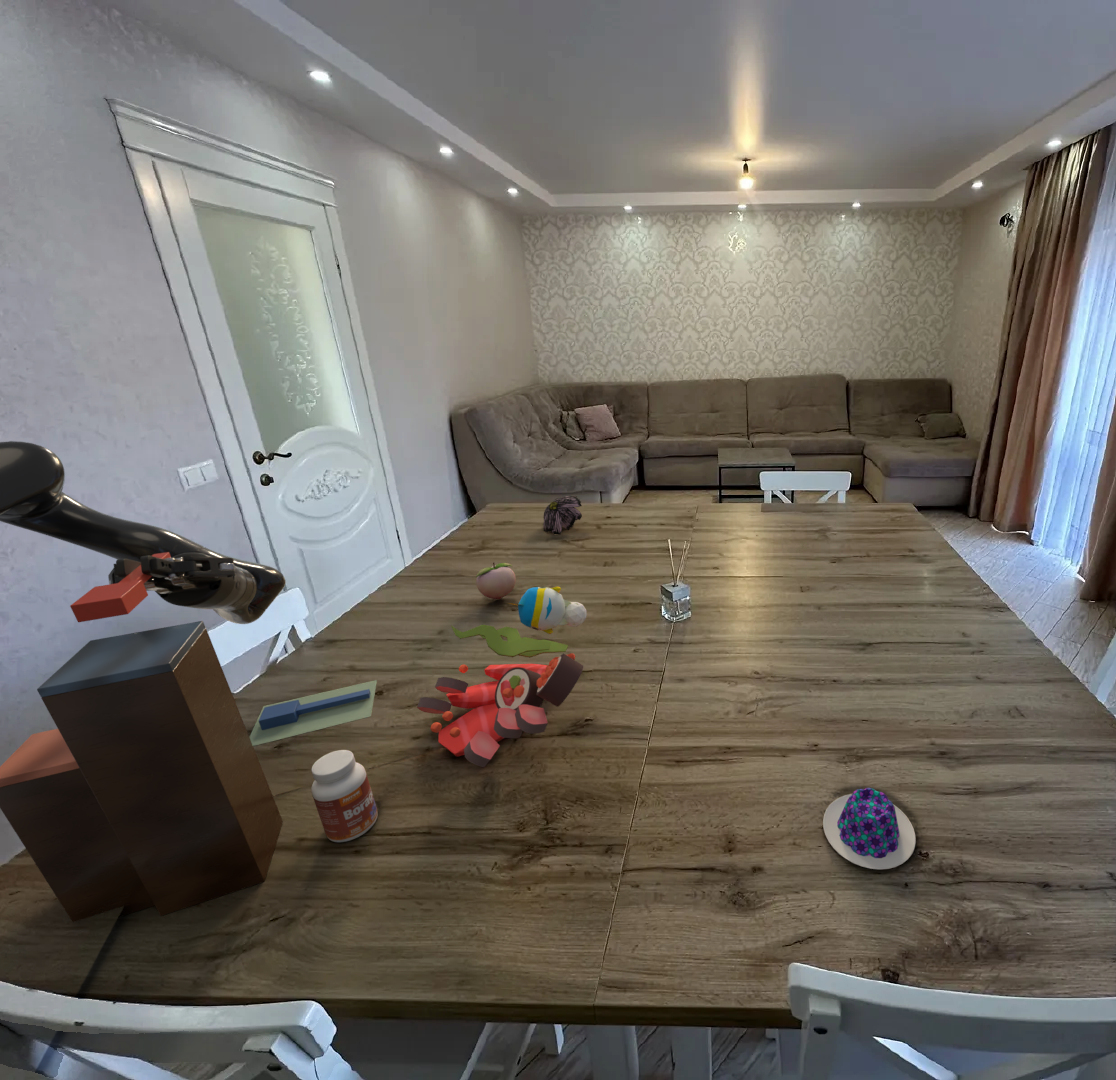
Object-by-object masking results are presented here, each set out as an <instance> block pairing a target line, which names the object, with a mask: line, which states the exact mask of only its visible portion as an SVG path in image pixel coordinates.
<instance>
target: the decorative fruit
mask: <svg viewBox="0 0 1116 1080" xmlns="http://www.w3.org/2000/svg"><path fill="white" fill-rule="evenodd" d="M510 567H513V565H512V564H510V563H509V562H499V563H497V564H496V563H495V562H492V566H490V567H484V568H482V569H480V570H479V571H478V572H477V574H476V576H475V578H476V580H475V585H476V589H477V590H478V591H479V593H480V594H481V595H482V596H484V597H486V598H488V599H491V600H501V599H502V598H504V597H505V596H507V595H509V594H510V593H512V591H513V590H514V588H515V586H516V580H517V579H516V578H517V577H516V574H515V572H514V571H513V569H512V568H510Z"/></svg>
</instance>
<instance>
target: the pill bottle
mask: <svg viewBox="0 0 1116 1080" xmlns="http://www.w3.org/2000/svg"><path fill="white" fill-rule="evenodd" d="M366 771H367V770H366V769H365V767H364V765H362V764H361V763H359V762H356V758H355V756H354V753H353V752H352V751H351V750H349V749H339V750H334V751H331V752H328V753H326V754H324V755H323V756H321V757H319V758H318V759H317V760H316V761H315V762H314V763H313V764H312V766H311V774H312V778H313V782H312V784H311V788H310V791H311V796H312V799H313V803H314V805H315V807H316V810H317V814H318V817H319V819H320V822H321V825H322V829H323V831H324V833H325V835H326V837H327V839H328V840H329V841H330V842H334V843H345V842H350V841H352V840H355V839H357V838H359V837H361V836H363V835H364V834H366V833H367V832H369V830H370V829H371V828H372V827H373V826H374V825H375V823H376V822H377V819H378V815H379V813H378V812H379V811H378V808H377V803H376V801H375V797H374V794H373V791H372V788H371V785H370V782H369V781H370V780H369V778H368V774H367V772H366Z"/></svg>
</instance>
